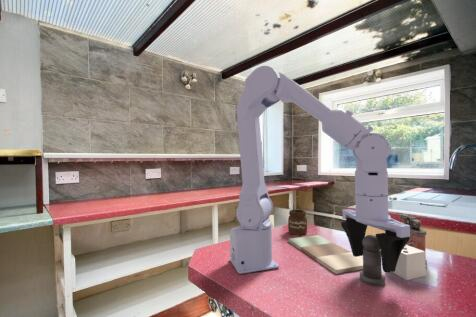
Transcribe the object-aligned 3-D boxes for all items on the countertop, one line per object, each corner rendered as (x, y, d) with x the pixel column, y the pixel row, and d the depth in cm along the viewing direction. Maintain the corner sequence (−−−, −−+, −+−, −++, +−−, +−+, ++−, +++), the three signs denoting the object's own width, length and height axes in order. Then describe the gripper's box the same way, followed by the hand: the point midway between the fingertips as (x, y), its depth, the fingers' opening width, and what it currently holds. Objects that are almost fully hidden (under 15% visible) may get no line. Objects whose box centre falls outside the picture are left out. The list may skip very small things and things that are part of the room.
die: (406, 279, 49) (406, 254, 49) (385, 269, 54) (385, 245, 54) (425, 275, 51) (425, 251, 51) (403, 265, 55) (402, 243, 55)
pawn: (372, 287, 47) (371, 239, 46) (354, 277, 51) (354, 233, 51) (390, 284, 48) (390, 237, 48) (372, 273, 52) (371, 230, 52)
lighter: (431, 265, 55) (430, 220, 55) (415, 265, 55) (415, 221, 55) (407, 251, 63) (406, 212, 63) (393, 251, 63) (393, 212, 63)
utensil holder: (288, 229, 84) (287, 194, 84) (307, 230, 83) (306, 194, 83) (288, 235, 78) (287, 197, 78) (308, 236, 77) (308, 197, 77)
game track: (335, 273, 52) (335, 270, 52) (288, 241, 72) (288, 238, 72) (374, 267, 55) (374, 263, 55) (318, 237, 75) (317, 235, 75)
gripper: (422, 198, 43) (424, 276, 43) (360, 188, 57) (361, 247, 57) (391, 201, 41) (392, 282, 41) (334, 190, 55) (335, 251, 55)
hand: (372, 262), depth 49 cm, fingers open, 7 cm apart
